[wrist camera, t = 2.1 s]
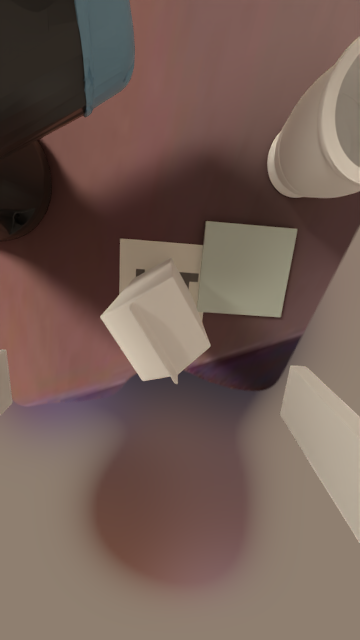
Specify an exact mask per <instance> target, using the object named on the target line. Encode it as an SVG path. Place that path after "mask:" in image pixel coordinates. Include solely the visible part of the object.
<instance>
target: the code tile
mask: <svg viewBox="0 0 360 640" xmlns="http://www.w3.org/2000/svg"><path fill="white" fill-rule="evenodd" d="M202 251H203V245H195V244H183V243H171V242H158V241H146V240H134V239H122V238H120V281H119V295H120V293H121V292H122V291H123V290H124V289H125V288H126V287H127V286H128V284H129V283H130V282H131V281H132V280H133V279H134V278H135V277H137V276H139V275H141V274H142V273H144V272H146V271H148V270H150V269H151V268H153V267H155V266H157V265H158V264H160V263H162V262H164V261H166V260H167V259H169V258H172V260H173V261H174V263H175V265H176V267H177V269H178V271H179V273H180V274H181V276H182V278H183V280H184V282H185V284H186V285H187V287H188V289H189V291H190V293H191V295H192V297H193V300H194V303H195V305H196V308H197V301H198V291H199V281H200V271H201V261H202ZM198 313H199V316H200V318H201V321H202V319H203V312H198Z"/></svg>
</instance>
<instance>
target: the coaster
mask: <svg viewBox="0 0 360 640" xmlns="http://www.w3.org/2000/svg"><path fill="white" fill-rule="evenodd" d="M297 230H298V229H292V228H281V227H269V226H258V225H246V224H235V223H223V222H212V221H205V230H204V240H203V251H202V261H201V271H200V281H199V291H198V301H197V311H198V312H209V313H224V314H239V315H254V316H268V317H281V313H282V307H283V302H284V297H285V292H286V287H287V282H288V276H289V271H290V266H291V261H292V256H293V251H294V246H295V240H296V235H297Z"/></svg>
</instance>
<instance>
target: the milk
mask: <svg viewBox="0 0 360 640" xmlns="http://www.w3.org/2000/svg"><path fill="white" fill-rule="evenodd" d="M100 318H101V319H102V321H103V322H104V324H105V325H106V327H107V328H108V330H109V331H110V333H111V334H112V336H113V337H114V339H115V340H116V342H117V343H118V345H119V346H120V348H121V349H122V351H123V352H124V354H125V355H126V357H127V358H128V360H129V361H130V363H131V364H132V366H133V367H134V369H135V370H136V372H137V373H138V375H139V376H140V378H141V379H142V381H147V380H153V379H158V378H164V377H169V376H170V377H171V378H172V380H173V381H174V383H175V384H178V374H179V373H180V372H181V371H182V370H184V369H185V368H186V367H187V366H188V365H190V364H191V363H192V362H193V361H194V360H195V359H197V358H198V357H199V356H200V355H201V354H203V353H204V352H205V351H206V350H207V349H208V348H209V347H210V346H211V345H210V342H209V340H208V337H207V334H206V332H205V329H204V326H203V324H202V321H201V318H200V316H199V313H198V311H197V308H196V305H195V303H194V300H193V297H192V295H191V293H190V291H189V289H188V287H187V285H186V284H185V282H184V280H183V278H182V276H181V274H180V273H179V271H178V269H177V267H176V265H175V263H174V261H173V260H172V258H169V259H167V260H166V261H164V262H162V263H160V264H158V265H157V266H155V267H153V268H151V269H150V270H148V271H146V272H144V273H142V274H141V275H139V276H137V277H135V278H134V279H133V280H132V281H131V282H130V283H129V284H128V286H127V287H126V288H125V289H124V290H123V291H122V292H121V293H120V295H119V296H118V297H117V298H116V299H115V300H114V301H113V303H112V304H111V305H110V306H109V307H108V308H107V309H106V310H105V312H104V313H103V314H102V315H101V316H100Z"/></svg>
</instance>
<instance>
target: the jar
mask: <svg viewBox="0 0 360 640" xmlns="http://www.w3.org/2000/svg"><path fill="white" fill-rule="evenodd" d="M267 169H268V175H269V178H270V180H271V182H272V184H273V186H274V187H275V188H276V189H277V190H278V191H279V192H280V193H281V194H283V195H285V196H288V197H292V198H300V197H312V198H335V197H341V196H346V195H350V194H353V193H356V192H359V191H360V36H359V37H358V38H357V39H356V40H355V41H353V42H352V43H351V45H350V46H349V47H348V48H347V49H346V50H345V51H344V52H343V54H342V55H341V56H340V58H339V59H338V61H337V62H336V64H335V65H334V66H332V67H331V68H330V69H329V70H327V71H326V72H325V73H324V74H323V75H322V76H320V77H319V78H318V79H317V80H316V81H315V82H314V83H313V84H312V85H311V86H310V88H309V89H308V90H307V91H306V92H305V93H304V95H303V96H302V97H301V99H300V100H299V101H298V103H297V104H296V106H295V107H294V109H293V111H292V112H291V114H290V116H289V118H288V120H287V121H286V123H285V124H284V126H283V128H282V130H281V132H280V133H279V134H278V135H277V136H276V138H275V139H274V141H273V143H272V145H271V147H270V150H269V154H268V160H267Z"/></svg>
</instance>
